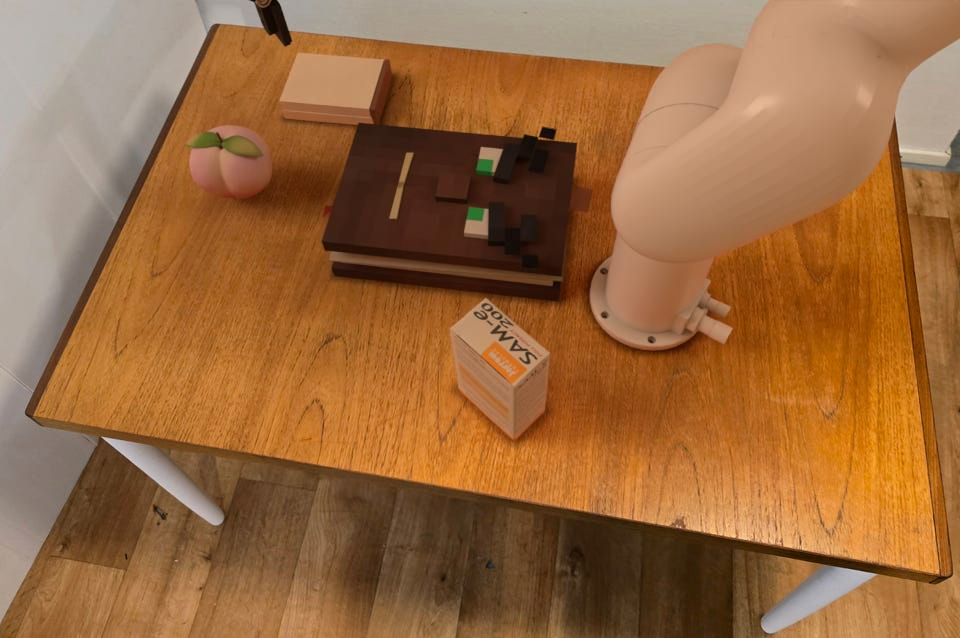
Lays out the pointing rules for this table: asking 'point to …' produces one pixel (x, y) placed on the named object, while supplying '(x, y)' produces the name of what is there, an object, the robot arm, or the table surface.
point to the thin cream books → (336, 89)
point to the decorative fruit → (230, 161)
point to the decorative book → (455, 210)
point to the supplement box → (500, 368)
